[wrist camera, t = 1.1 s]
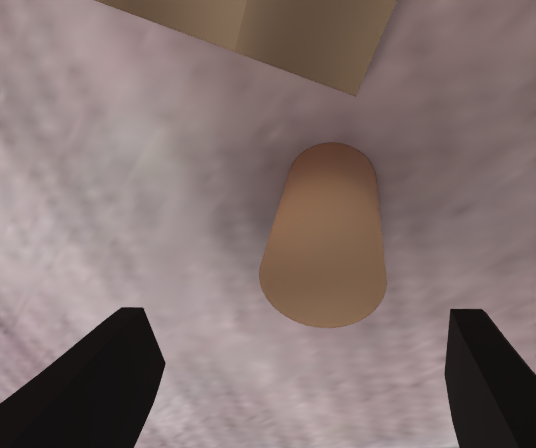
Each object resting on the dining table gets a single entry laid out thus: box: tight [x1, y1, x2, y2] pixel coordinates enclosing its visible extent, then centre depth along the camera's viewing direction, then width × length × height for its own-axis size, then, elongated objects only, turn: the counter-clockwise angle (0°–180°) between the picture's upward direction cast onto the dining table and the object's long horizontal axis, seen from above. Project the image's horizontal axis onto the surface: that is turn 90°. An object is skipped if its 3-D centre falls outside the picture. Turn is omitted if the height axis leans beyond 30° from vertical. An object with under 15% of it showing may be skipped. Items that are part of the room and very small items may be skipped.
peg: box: [259, 143, 387, 328], centre depth 16 cm, size 4×4×7 cm
